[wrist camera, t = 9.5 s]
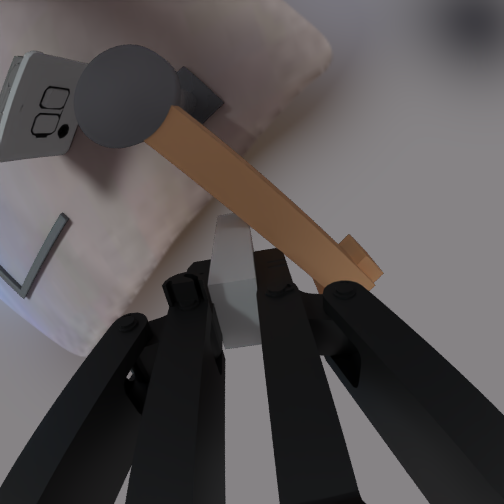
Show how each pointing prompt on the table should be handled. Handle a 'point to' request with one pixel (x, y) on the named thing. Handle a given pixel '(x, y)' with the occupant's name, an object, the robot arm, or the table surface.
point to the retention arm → (205, 159)
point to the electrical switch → (38, 106)
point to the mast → (196, 96)
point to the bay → (38, 261)
